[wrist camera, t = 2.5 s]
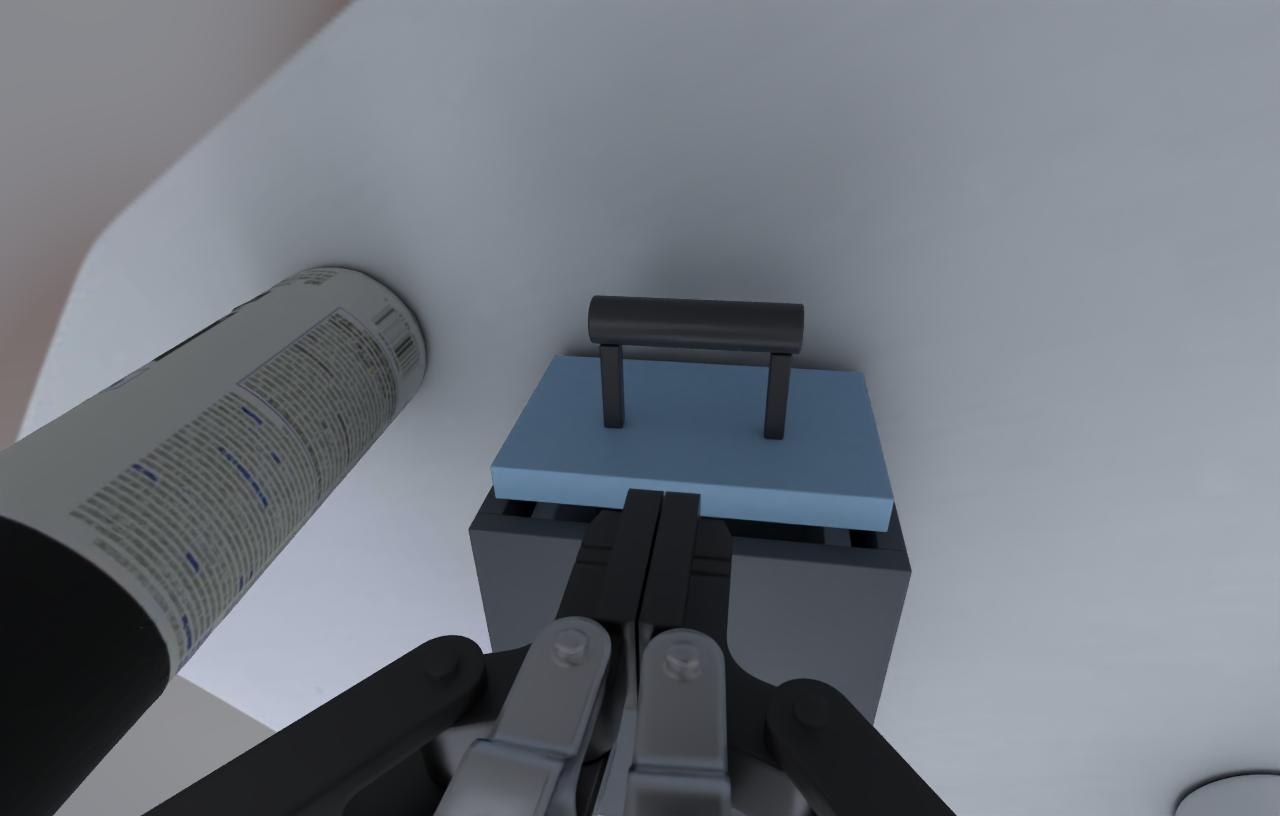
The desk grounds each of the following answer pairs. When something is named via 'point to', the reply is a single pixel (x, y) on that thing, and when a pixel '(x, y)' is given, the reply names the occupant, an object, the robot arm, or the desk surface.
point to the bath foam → (1235, 797)
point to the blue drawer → (701, 426)
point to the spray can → (176, 509)
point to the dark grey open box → (758, 605)
